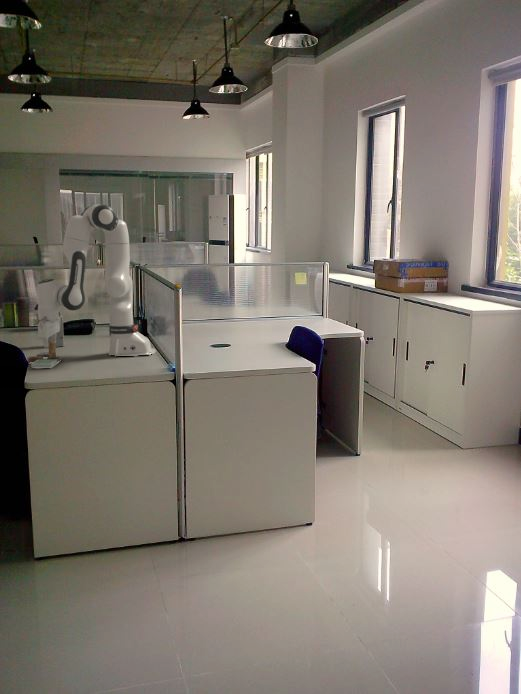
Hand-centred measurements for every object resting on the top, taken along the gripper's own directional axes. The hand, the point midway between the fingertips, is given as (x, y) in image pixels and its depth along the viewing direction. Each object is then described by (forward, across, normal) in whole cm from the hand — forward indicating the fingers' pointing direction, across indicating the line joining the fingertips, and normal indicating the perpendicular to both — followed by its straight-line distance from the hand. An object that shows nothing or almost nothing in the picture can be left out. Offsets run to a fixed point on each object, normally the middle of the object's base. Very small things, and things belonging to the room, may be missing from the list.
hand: (50, 345), depth 308 cm
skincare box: (+9, +40, +11) cm, 43 cm away
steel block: (+9, +11, +7) cm, 16 cm away
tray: (+8, -8, 0) cm, 12 cm away
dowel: (+8, 0, -1) cm, 8 cm away
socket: (+8, 0, -1) cm, 8 cm away
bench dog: (+9, -1, +7) cm, 11 cm away
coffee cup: (+10, +92, +34) cm, 99 cm away
